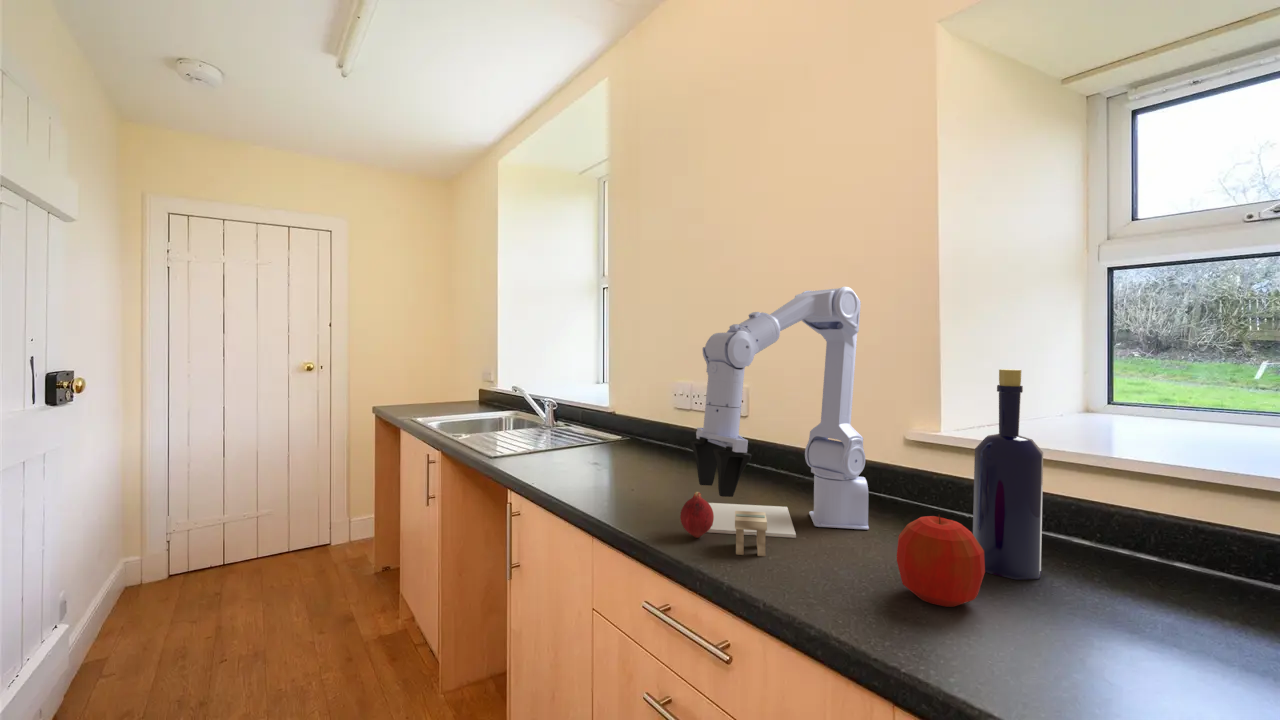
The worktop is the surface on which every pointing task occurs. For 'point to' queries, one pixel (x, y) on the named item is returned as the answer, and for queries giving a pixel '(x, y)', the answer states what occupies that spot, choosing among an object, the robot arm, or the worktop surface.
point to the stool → (750, 522)
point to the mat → (775, 515)
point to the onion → (697, 516)
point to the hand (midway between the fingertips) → (715, 490)
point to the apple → (940, 561)
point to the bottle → (1009, 491)
